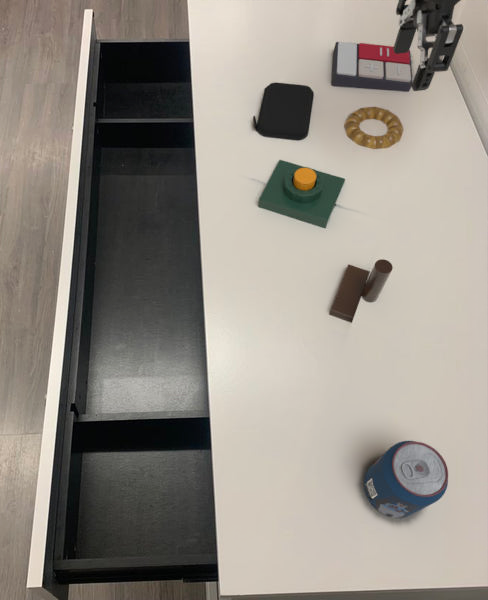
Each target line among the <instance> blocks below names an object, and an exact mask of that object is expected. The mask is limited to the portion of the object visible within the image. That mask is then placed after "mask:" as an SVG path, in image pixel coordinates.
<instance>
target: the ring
mask: <svg viewBox="0 0 488 600" xmlns="http://www.w3.org/2000/svg"><path fill="white" fill-rule="evenodd" d="M367 120H376V121H380V122H381V123H383V125H386V128H387V132H386V133H384V134H382V135H372V134H368V133H366V132H364V131H363V130H362V129H361V128H360V125H361V123H362V122H364V121H367ZM343 128H344V130H345V133H346V136H347V138H349V139H350V140H351V141H352V142H354V143H355V144H356V145H358V146H360V147H364V148H368V149H371V150H381V149H388V148H391V147H392V146H394V145H396V144H397V143H399V142H400V141H401V139H402V136H403V133H404V126H403V123H402V121H401V118H400V117H398V115H396V114H395V113H393V112H392V111H390V110H389V109H386V108H382V107H378V106H365V107H360V108H358V109H356V110H354V111H353V112H351V113H349V114H348V116H347V118H346V120H345V122H344V125H343Z"/></svg>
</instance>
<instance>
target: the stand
mask: <svg viewBox="0 0 488 600" xmlns="http://www.w3.org/2000/svg"><path fill="white" fill-rule="evenodd" d="M393 269H394V268H393V264H392V263H391V261H389V260H388V259H383V258H382V259H378V260H376V261H375V262H374V265H373V267H372V269H371V271H370V270H367V269H364V268H361V267H358V266H355V265H352V264H347V267H346V269H345V271H344V275H343V277H342V280H341V283H340V284H339V287H338V290H337V293H336V296H335V298H334V301H333V304H332V306H331V309H330V311H329V313H328V315H329V316H332V317H335V318H338V319H341V320H343V321H345V322H349V323H351V324H352V323H353V320H354V318H355V315H356V312H357V310H358V307H359V305H360V302H361V298H362V299H363V301H365V302H366V303H375V302H376V301H377V300H378V298H379V297H380V294H381V293H382V290H383V289H384V286H385V285H386V284H387V281H388V279H389V277H390V275H391V273H392V271H393Z"/></svg>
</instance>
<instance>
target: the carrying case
mask: <svg viewBox="0 0 488 600" xmlns="http://www.w3.org/2000/svg"><path fill="white" fill-rule="evenodd" d="M314 97H315V93H314V90H313V89H312V88H311V87H310V86H308V85H306V84H297V83H296V84H295V83H285V82H270V84H268V85H267V86H266V87H264V90H263V95H262V99H261V104H260V108H259V113H258V116H257V117H258V118H257V119H256V116H255V115H253V116H252V123H253V129H254V130H255V132H257V133H258V135H260V136H262V137H265V138H272V139H279V140H280V139H281V140H288V141H289V140H290V141H302V140H303V141H304V139H306V138H307V137H308V136H309V131H310V125H311V124H310V123H311V116H312V111H313V110H312V109H313V104H314Z"/></svg>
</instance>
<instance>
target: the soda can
mask: <svg viewBox="0 0 488 600" xmlns="http://www.w3.org/2000/svg"><path fill="white" fill-rule="evenodd" d="M448 484H449V469H448V465H447V463H446V460H445V458H444V457H443V455H442V454H441V453H440V452H439V451H438V450H437V449H435V448H434V447H432V446H431V445H429V444H427V443H425V442H422V441H414V440H404V441H399V442H397V443H395V444H393V445H392V446H391V447H389V448H388V449H387V450H386V451H385V452H384V453H382V455H381V456H380V457H379V458H378V459H377V460H375V462H374V463H373V464H372V465H370V466H369V468H368V469H367V471H366V472H365V475H364V479H363V490H364V493H365V497H366V498H367V500H368V502H369V504H370V505H371V506H372V507H373V508H374V509H375V510H376V511H377V512H378V513H380V514H381V515H383V516H386V517H389V518H392V519H404V518H408V517H410V516H412V515H413V514H416V513H418V512H419V511H421V510H424V509H426V508H427V507H429V506H431V505H432V504H435V503H436V502H438V501H439V500H441V498H443V496H444V495H445V493H446V492H447V488H448V486H449V485H448Z"/></svg>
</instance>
